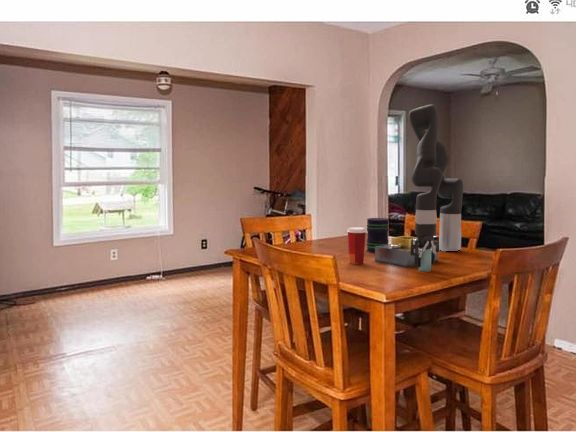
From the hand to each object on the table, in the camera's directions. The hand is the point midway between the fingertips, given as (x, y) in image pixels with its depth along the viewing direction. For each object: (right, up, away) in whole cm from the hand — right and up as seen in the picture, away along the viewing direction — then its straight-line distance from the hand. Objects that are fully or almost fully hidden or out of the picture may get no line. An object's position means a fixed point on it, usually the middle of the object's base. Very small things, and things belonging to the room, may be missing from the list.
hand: (424, 265), depth 172 cm
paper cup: (-23, -1, +15) cm, 28 cm away
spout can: (0, -2, 0) cm, 2 cm away
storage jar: (-9, +2, +42) cm, 43 cm away
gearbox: (-2, 0, +19) cm, 19 cm away
